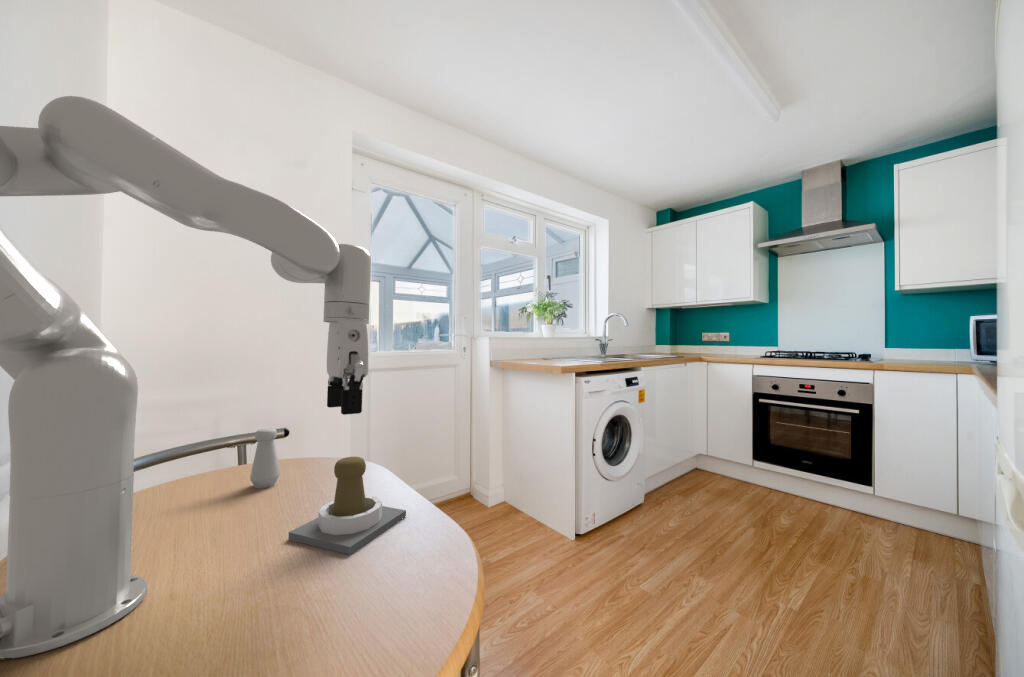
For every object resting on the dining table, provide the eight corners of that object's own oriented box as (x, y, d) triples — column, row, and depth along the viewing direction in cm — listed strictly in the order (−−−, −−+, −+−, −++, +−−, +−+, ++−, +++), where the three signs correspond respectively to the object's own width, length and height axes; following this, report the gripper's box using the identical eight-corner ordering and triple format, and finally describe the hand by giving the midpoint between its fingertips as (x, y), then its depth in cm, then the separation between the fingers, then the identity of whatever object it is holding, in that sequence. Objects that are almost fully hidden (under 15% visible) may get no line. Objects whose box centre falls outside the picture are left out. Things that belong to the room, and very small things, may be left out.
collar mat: (350, 554, 57) (350, 530, 57) (288, 539, 62) (288, 517, 62) (405, 516, 70) (406, 496, 70) (351, 506, 75) (352, 487, 75)
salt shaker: (284, 484, 87) (285, 428, 88) (257, 491, 82) (258, 432, 83) (272, 479, 90) (273, 425, 91) (245, 486, 85) (246, 429, 86)
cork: (356, 510, 70) (357, 451, 71) (374, 519, 67) (375, 457, 67) (324, 522, 65) (324, 459, 66) (341, 532, 62) (342, 465, 62)
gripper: (384, 312, 63) (381, 414, 62) (354, 319, 76) (351, 403, 76) (337, 308, 58) (332, 419, 57) (313, 316, 72) (310, 406, 71)
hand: (343, 410), depth 67 cm, fingers open, 9 cm apart
